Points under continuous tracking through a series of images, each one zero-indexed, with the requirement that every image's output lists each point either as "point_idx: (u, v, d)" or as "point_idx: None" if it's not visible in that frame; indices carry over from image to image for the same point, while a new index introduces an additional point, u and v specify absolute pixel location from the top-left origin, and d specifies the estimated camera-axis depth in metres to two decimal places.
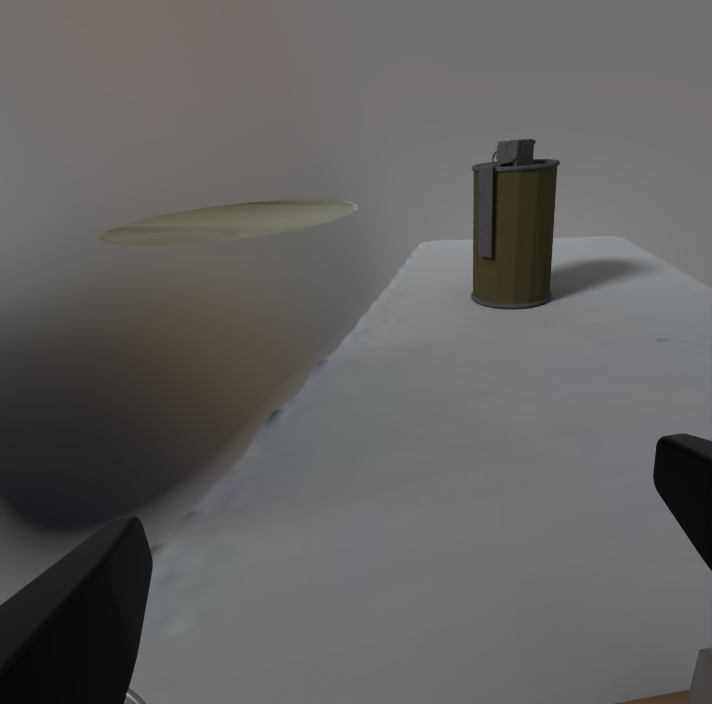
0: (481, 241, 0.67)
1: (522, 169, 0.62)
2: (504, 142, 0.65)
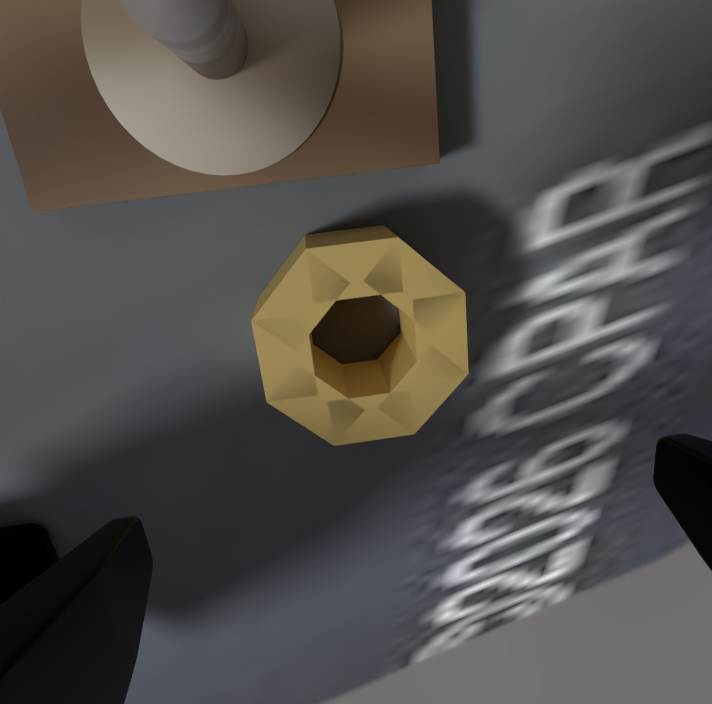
0: None
1: None
2: None
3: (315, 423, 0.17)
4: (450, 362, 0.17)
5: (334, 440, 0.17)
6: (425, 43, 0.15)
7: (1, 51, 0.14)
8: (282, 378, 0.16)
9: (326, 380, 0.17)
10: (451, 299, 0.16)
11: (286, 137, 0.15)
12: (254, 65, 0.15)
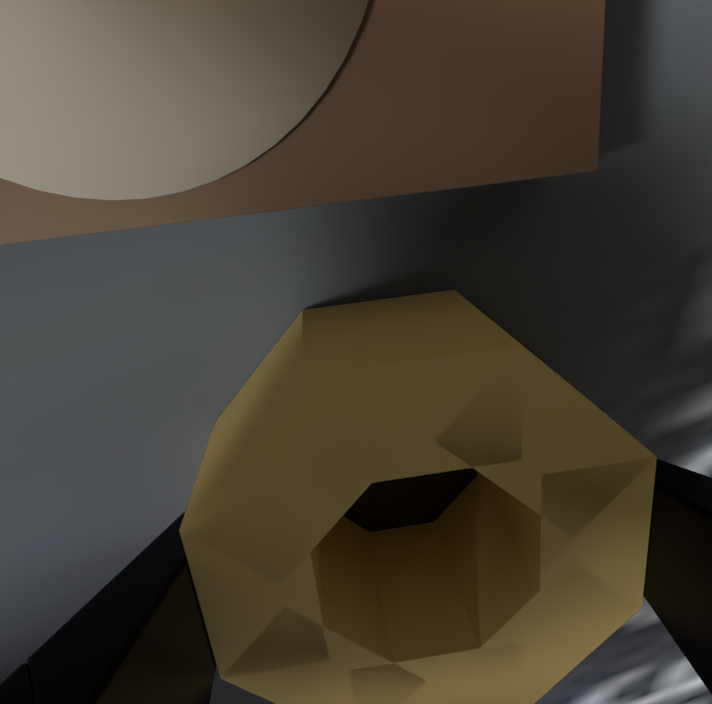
0: None
1: None
2: None
3: None
4: (608, 589, 0.08)
5: None
6: None
7: None
8: (253, 635, 0.08)
9: (345, 624, 0.08)
10: (625, 471, 0.07)
11: (259, 112, 0.07)
12: None
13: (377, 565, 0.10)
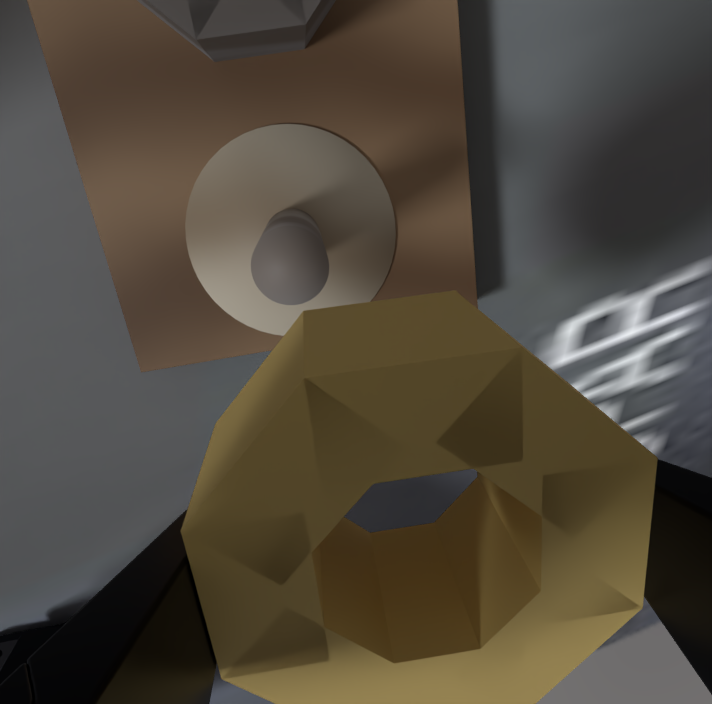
0: None
1: None
2: None
3: None
4: (608, 589, 0.08)
5: None
6: (465, 226, 0.18)
7: (120, 253, 0.17)
8: (254, 635, 0.08)
9: (346, 626, 0.08)
10: (625, 472, 0.07)
11: (350, 303, 0.18)
12: None
13: (378, 566, 0.10)
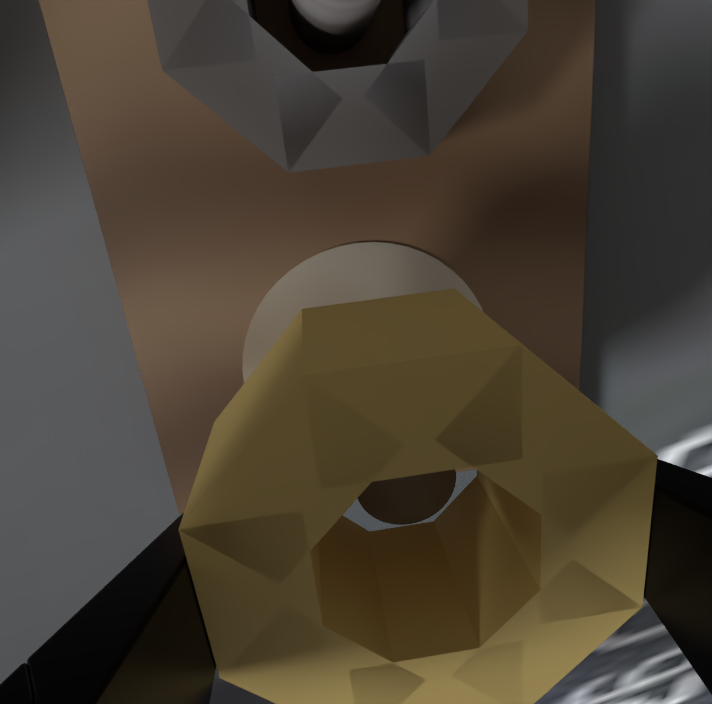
0: None
1: None
2: None
3: None
4: (608, 588, 0.08)
5: None
6: (573, 357, 0.15)
7: (162, 384, 0.14)
8: (252, 634, 0.08)
9: (345, 624, 0.08)
10: (625, 470, 0.07)
11: None
12: None
13: (377, 564, 0.10)
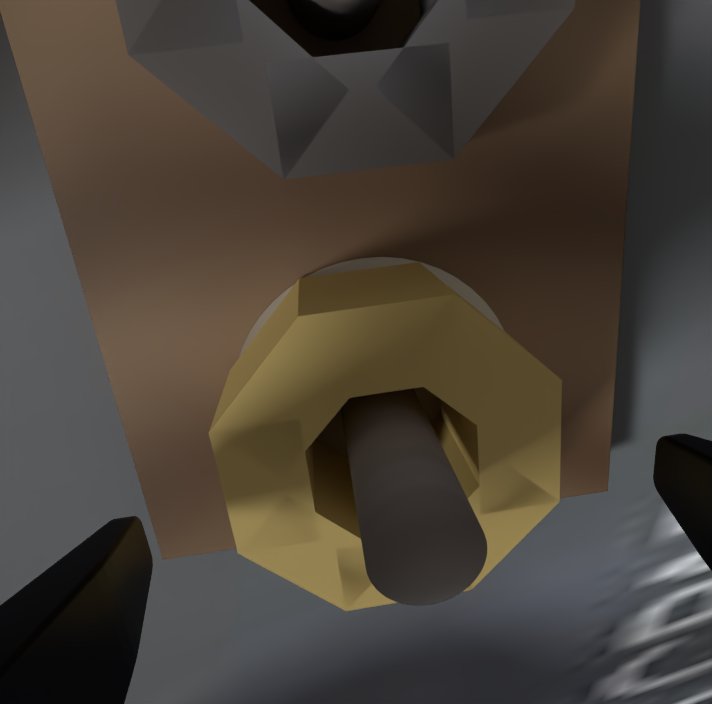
0: None
1: None
2: None
3: (316, 581, 0.11)
4: (532, 486, 0.10)
5: (346, 603, 0.11)
6: (606, 385, 0.13)
7: (142, 418, 0.12)
8: (262, 518, 0.10)
9: (333, 515, 0.10)
10: (538, 391, 0.10)
11: None
12: None
13: None
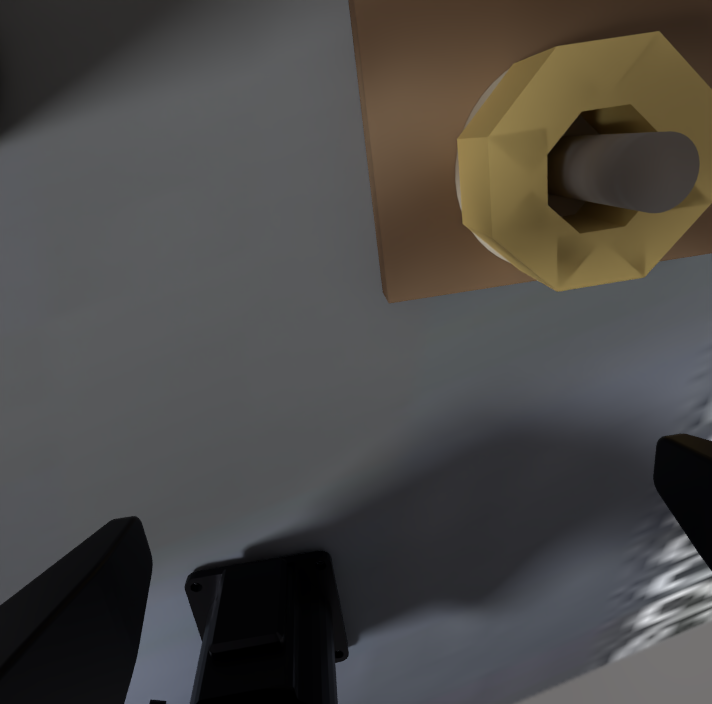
0: None
1: None
2: None
3: (540, 264, 0.15)
4: (694, 188, 0.15)
5: (558, 284, 0.16)
6: None
7: (389, 180, 0.17)
8: (512, 208, 0.15)
9: (554, 213, 0.15)
10: (706, 110, 0.14)
11: None
12: None
13: None
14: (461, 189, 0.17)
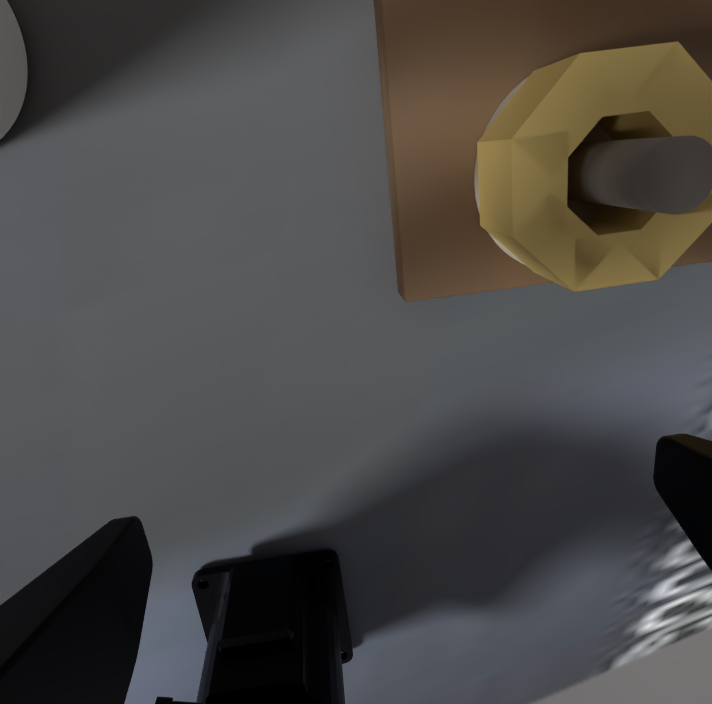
0: None
1: None
2: None
3: (558, 264, 0.16)
4: None
5: (575, 285, 0.16)
6: None
7: (410, 180, 0.17)
8: (533, 209, 0.15)
9: (573, 215, 0.16)
10: None
11: None
12: None
13: None
14: (480, 191, 0.18)
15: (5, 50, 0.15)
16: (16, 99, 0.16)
